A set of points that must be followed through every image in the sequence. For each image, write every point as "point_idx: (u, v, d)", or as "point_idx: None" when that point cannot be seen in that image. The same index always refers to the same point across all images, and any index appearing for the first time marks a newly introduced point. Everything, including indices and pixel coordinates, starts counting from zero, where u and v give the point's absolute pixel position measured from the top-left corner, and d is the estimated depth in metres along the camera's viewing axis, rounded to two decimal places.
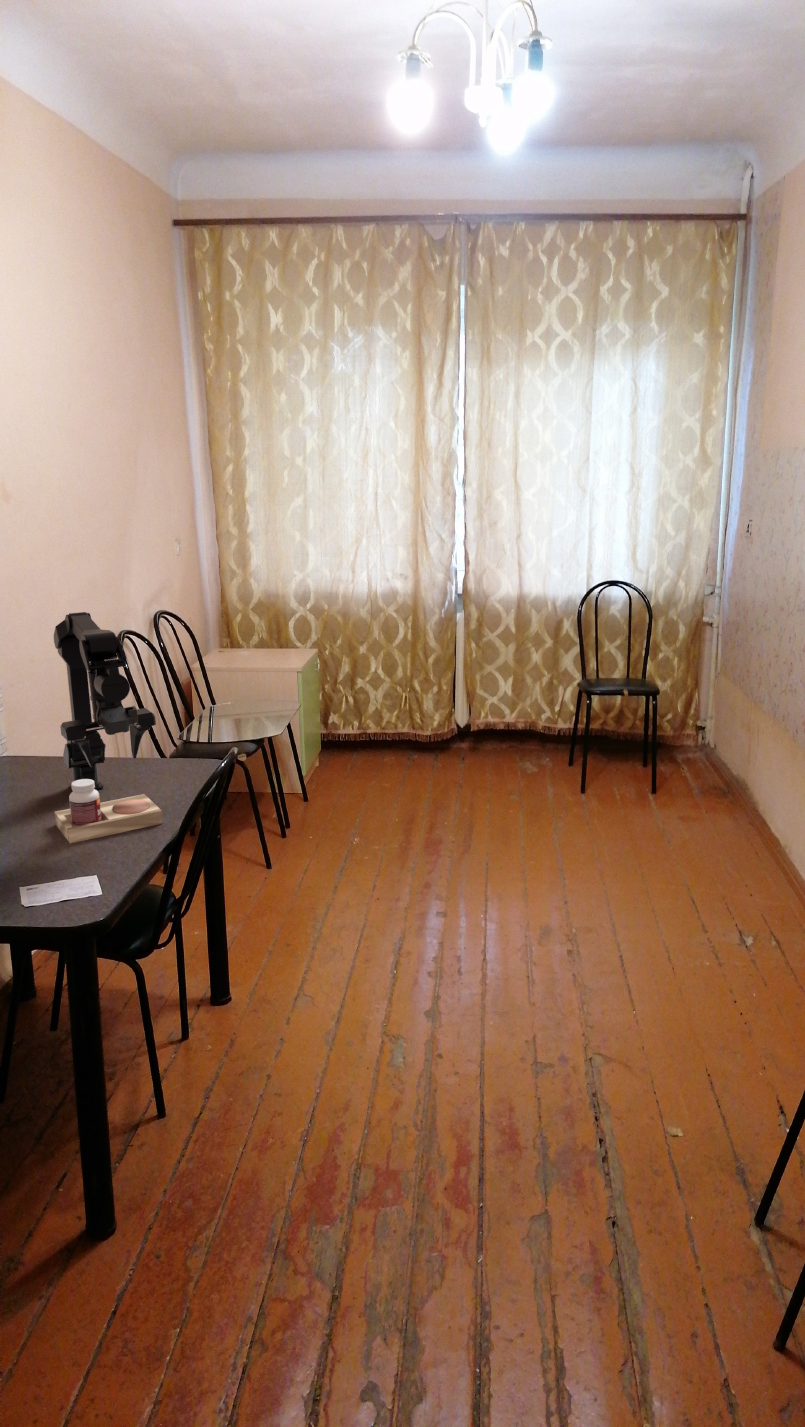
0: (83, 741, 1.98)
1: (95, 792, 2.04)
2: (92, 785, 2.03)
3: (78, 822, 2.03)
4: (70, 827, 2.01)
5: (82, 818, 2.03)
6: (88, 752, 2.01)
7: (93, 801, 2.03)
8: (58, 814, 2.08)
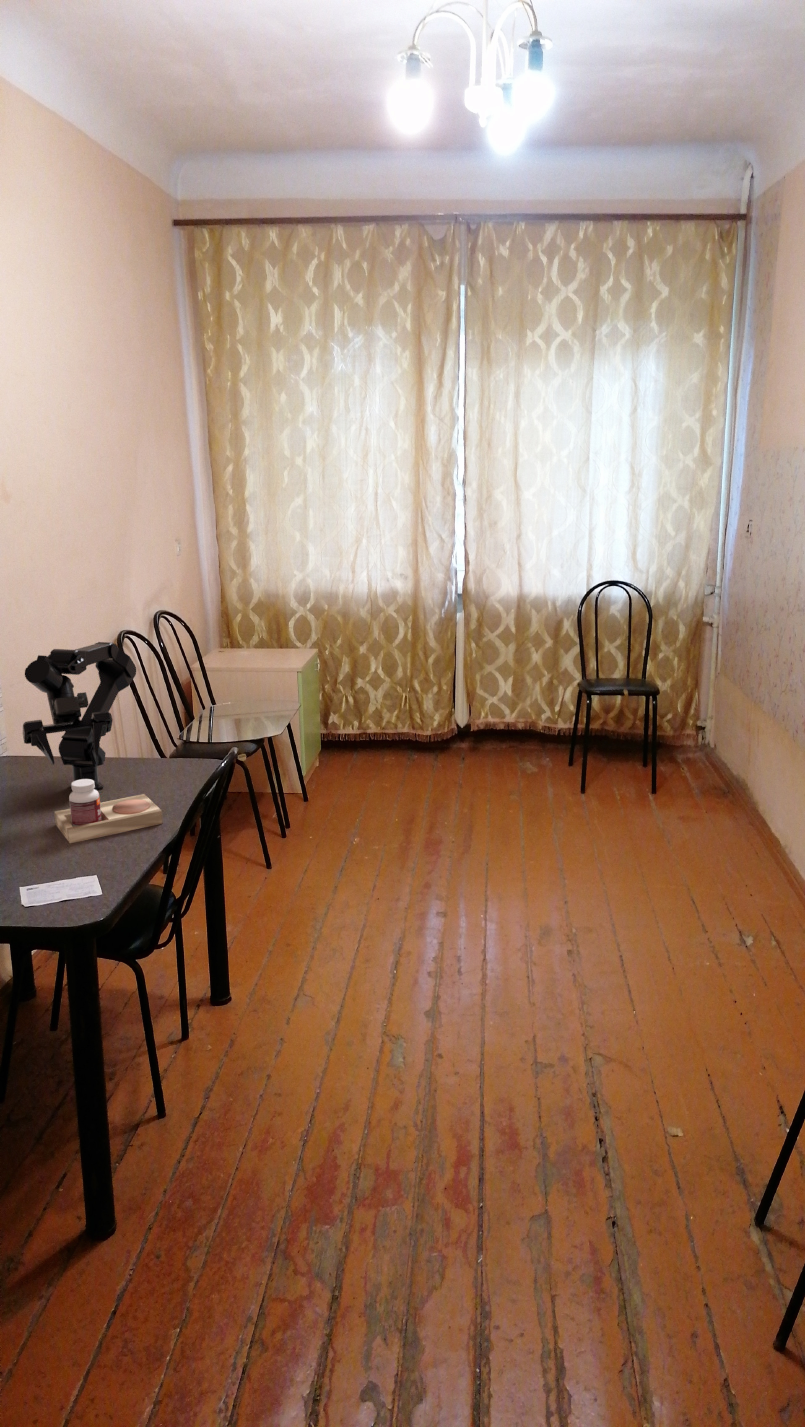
0: (40, 732, 2.07)
1: (95, 792, 2.04)
2: (92, 785, 2.03)
3: (78, 822, 2.03)
4: (70, 827, 2.01)
5: (82, 818, 2.03)
6: (47, 747, 2.08)
7: (93, 801, 2.03)
8: (58, 814, 2.08)
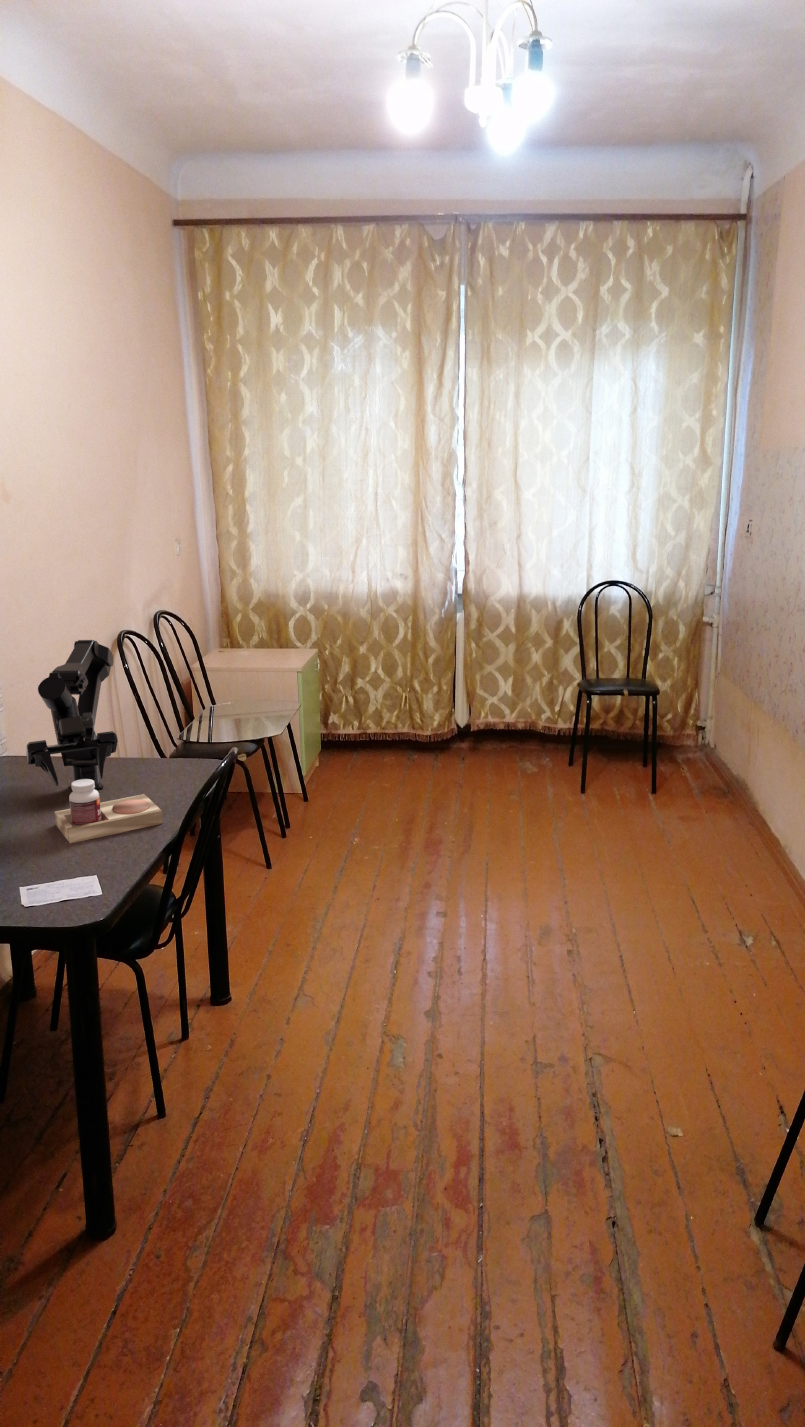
0: (44, 753, 2.04)
1: (95, 792, 2.04)
2: (92, 785, 2.03)
3: (78, 822, 2.03)
4: (70, 827, 2.01)
5: (82, 818, 2.03)
6: (51, 768, 2.05)
7: (93, 801, 2.03)
8: (58, 814, 2.08)
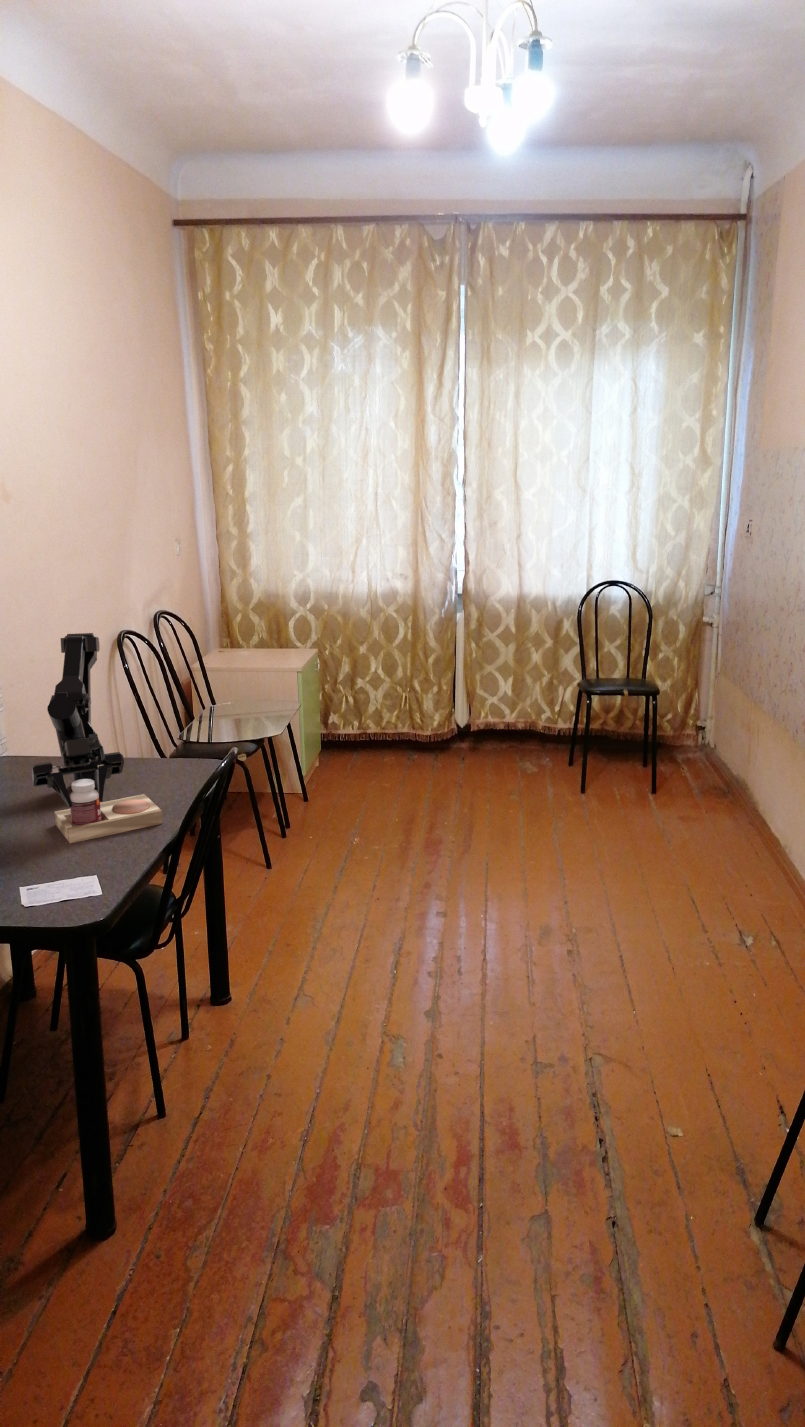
0: (56, 774, 2.02)
1: (95, 792, 2.04)
2: (92, 785, 2.03)
3: (78, 822, 2.03)
4: (70, 827, 2.01)
5: (82, 818, 2.03)
6: (64, 789, 2.03)
7: (93, 801, 2.03)
8: (58, 814, 2.08)
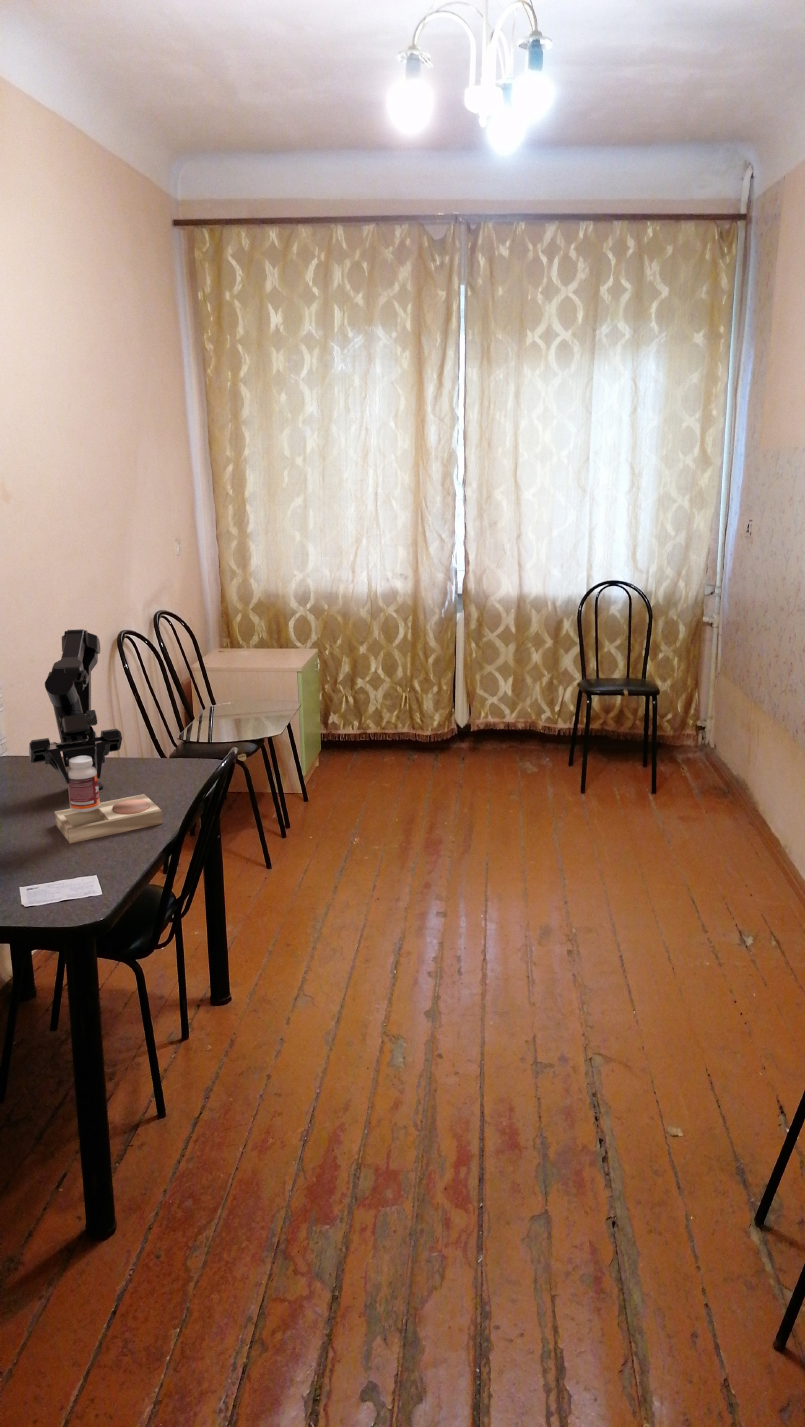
0: (54, 750, 2.01)
1: (93, 769, 2.03)
2: (90, 761, 2.02)
3: (76, 799, 2.02)
4: (70, 827, 2.01)
5: (79, 795, 2.01)
6: (62, 765, 2.01)
7: (91, 778, 2.02)
8: (58, 814, 2.08)
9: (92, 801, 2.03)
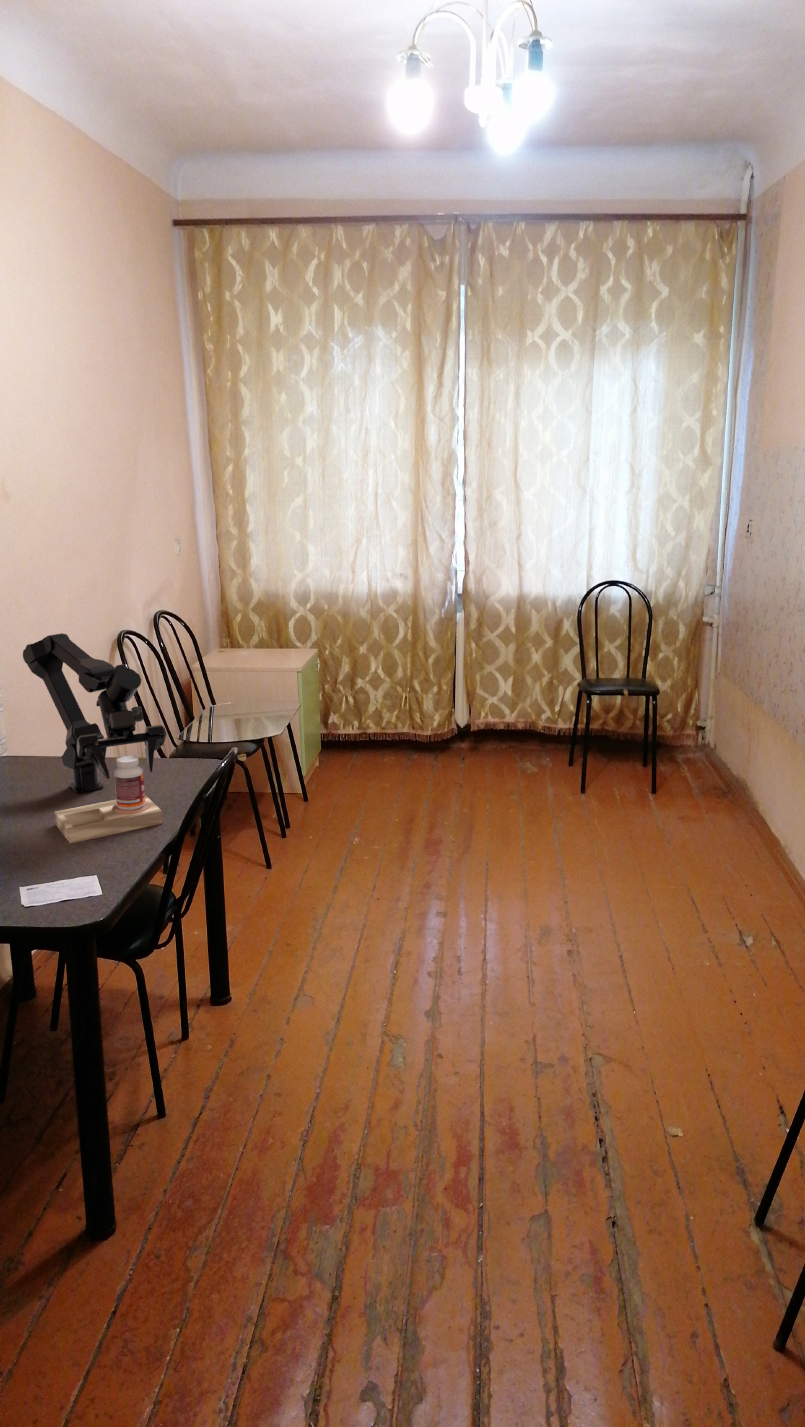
0: (95, 746, 2.06)
1: (139, 768, 2.09)
2: (136, 761, 2.08)
3: (123, 797, 2.08)
4: (70, 827, 2.01)
5: (126, 793, 2.08)
6: (102, 761, 2.06)
7: (138, 777, 2.08)
8: (58, 814, 2.08)
9: (139, 799, 2.09)
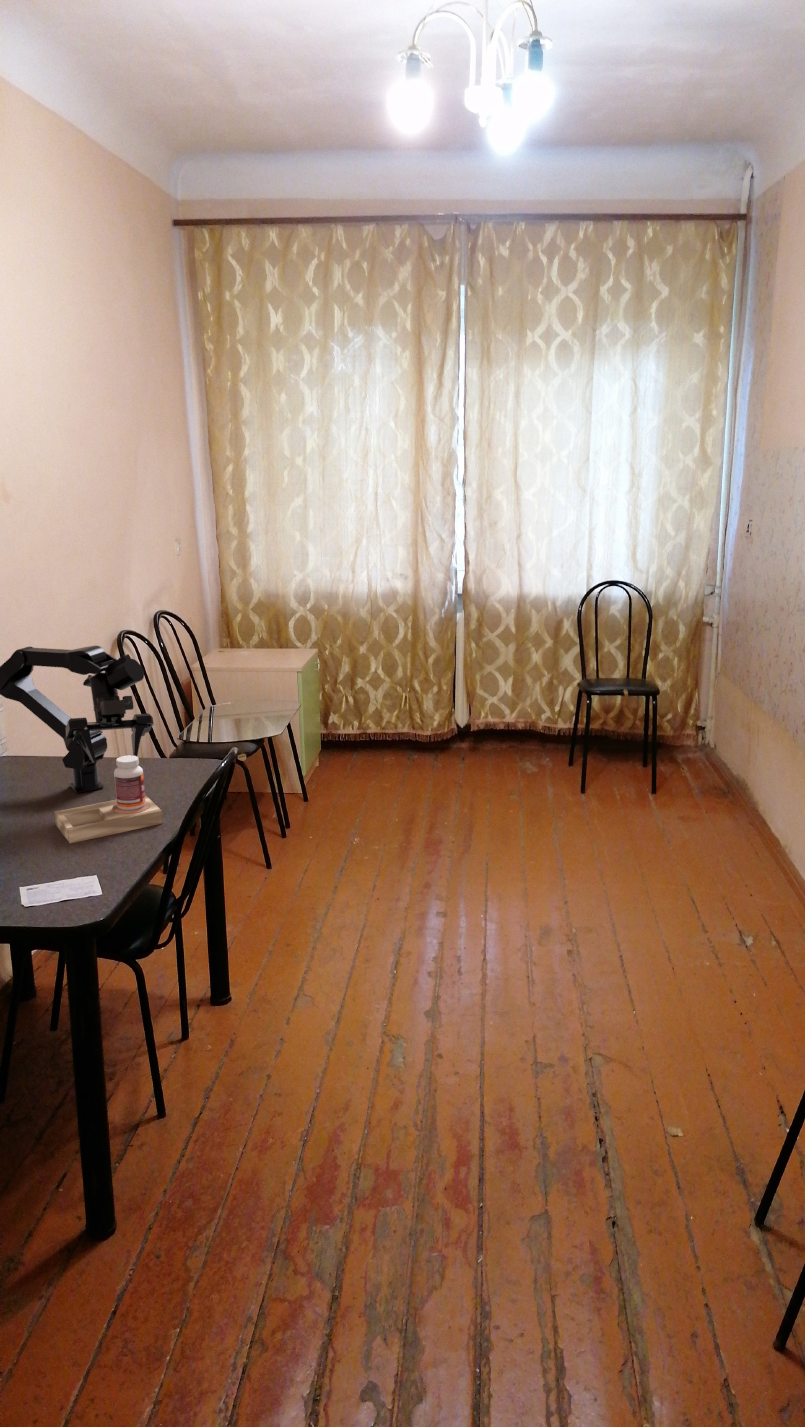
0: (84, 730, 2.13)
1: (139, 768, 2.09)
2: (136, 761, 2.08)
3: (123, 797, 2.08)
4: (70, 827, 2.01)
5: (126, 793, 2.08)
6: (90, 745, 2.14)
7: (138, 777, 2.08)
8: (58, 814, 2.08)
9: (139, 799, 2.09)
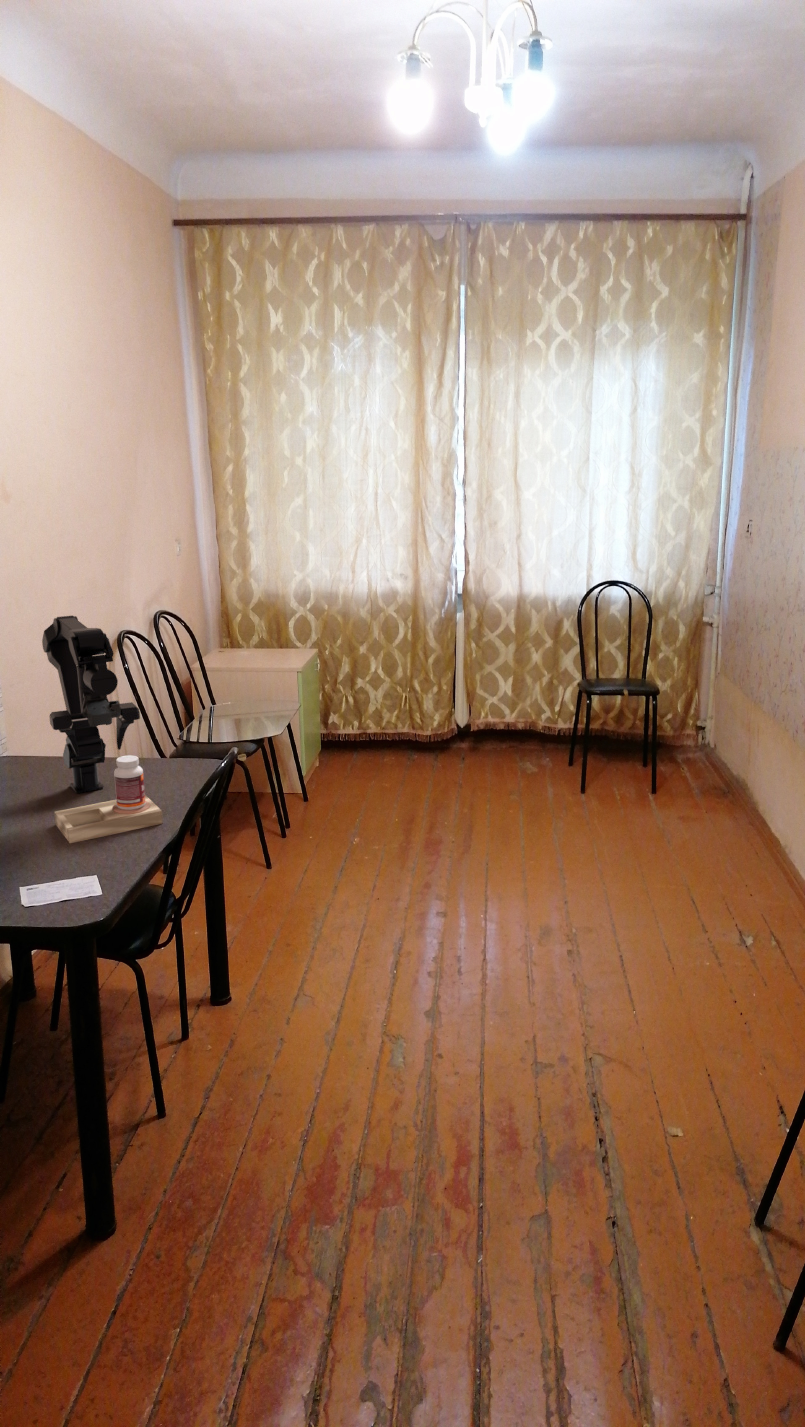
0: (69, 731, 2.10)
1: (139, 768, 2.09)
2: (136, 761, 2.08)
3: (123, 797, 2.08)
4: (70, 827, 2.01)
5: (126, 793, 2.08)
6: (74, 741, 2.12)
7: (138, 777, 2.08)
8: (58, 814, 2.08)
9: (139, 799, 2.09)
